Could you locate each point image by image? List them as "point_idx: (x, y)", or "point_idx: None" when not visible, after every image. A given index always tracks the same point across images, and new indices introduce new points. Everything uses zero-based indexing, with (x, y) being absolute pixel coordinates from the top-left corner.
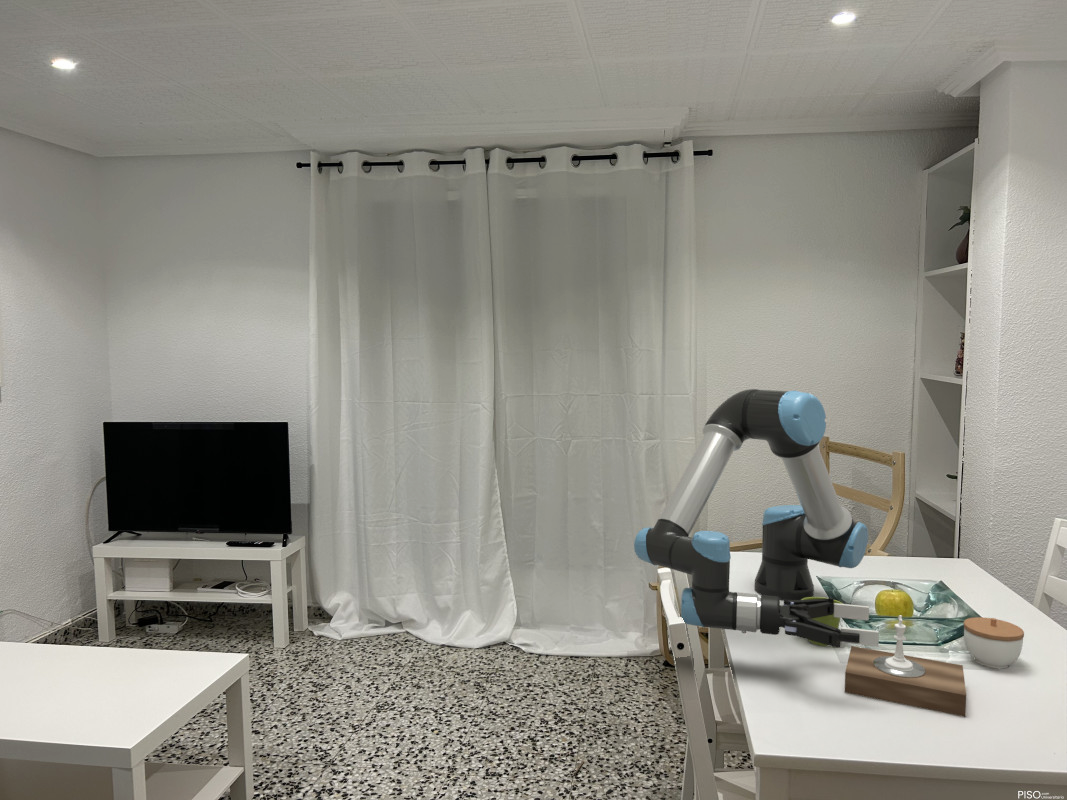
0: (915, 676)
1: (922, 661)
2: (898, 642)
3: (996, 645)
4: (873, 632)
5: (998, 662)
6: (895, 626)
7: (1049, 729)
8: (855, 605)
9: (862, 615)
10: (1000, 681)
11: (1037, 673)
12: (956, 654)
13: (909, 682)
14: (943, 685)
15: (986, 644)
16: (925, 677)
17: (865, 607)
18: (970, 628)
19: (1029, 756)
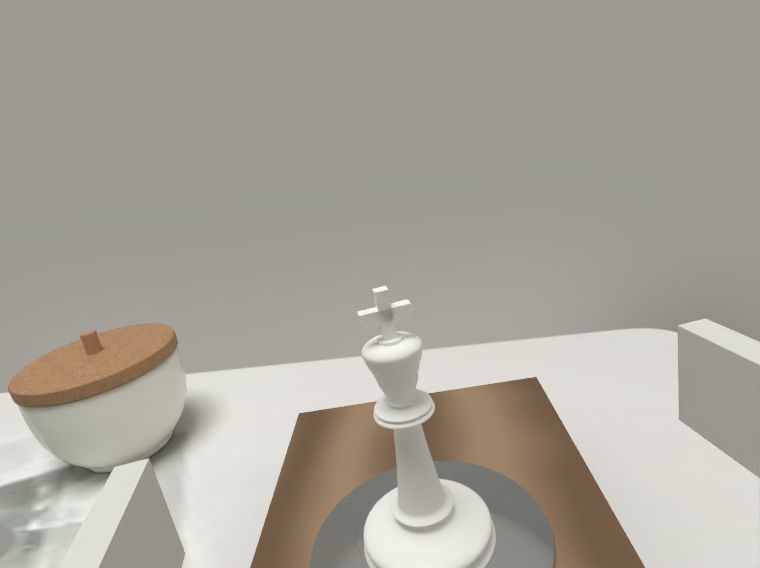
0: (503, 475)
1: (308, 490)
2: (419, 430)
3: (176, 367)
4: (734, 336)
5: (182, 411)
6: (410, 356)
7: (476, 350)
8: (79, 550)
9: (162, 560)
10: (256, 421)
11: (192, 390)
12: (65, 509)
13: (575, 487)
14: (506, 417)
15: (164, 381)
16: (472, 459)
17: (139, 479)
18: (105, 377)
19: (642, 349)
